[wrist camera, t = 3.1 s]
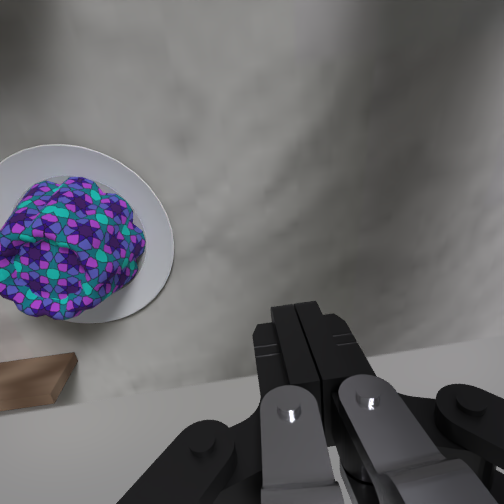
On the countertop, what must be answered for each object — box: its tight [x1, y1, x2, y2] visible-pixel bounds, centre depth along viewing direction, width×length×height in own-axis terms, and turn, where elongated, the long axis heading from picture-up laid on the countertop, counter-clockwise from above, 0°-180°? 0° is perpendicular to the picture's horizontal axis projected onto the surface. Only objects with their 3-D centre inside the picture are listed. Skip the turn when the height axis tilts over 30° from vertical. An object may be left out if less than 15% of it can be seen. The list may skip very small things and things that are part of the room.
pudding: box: [0, 144, 174, 323], centre depth 21 cm, size 12×12×5 cm
